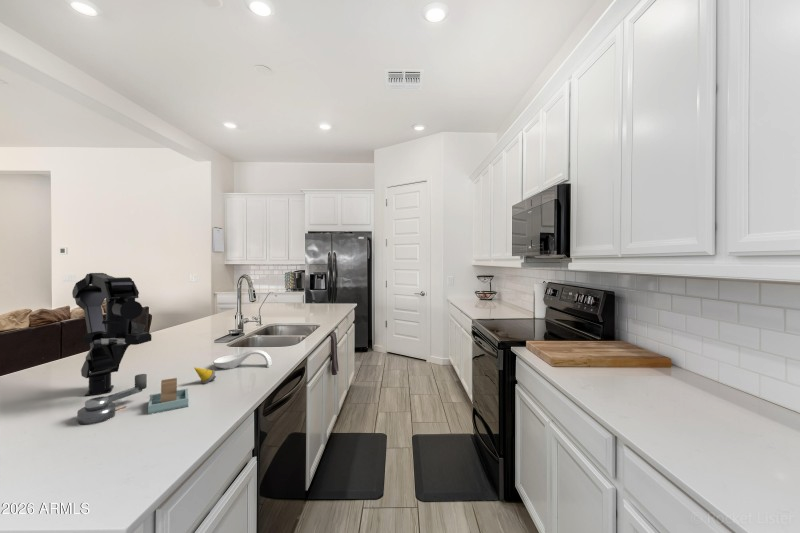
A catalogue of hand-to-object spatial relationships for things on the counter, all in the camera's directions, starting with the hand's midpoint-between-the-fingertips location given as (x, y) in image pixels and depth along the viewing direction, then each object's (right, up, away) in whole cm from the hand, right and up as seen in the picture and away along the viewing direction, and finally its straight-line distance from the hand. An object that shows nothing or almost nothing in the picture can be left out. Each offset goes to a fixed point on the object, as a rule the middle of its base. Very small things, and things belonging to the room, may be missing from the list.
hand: (117, 364), depth 105 cm
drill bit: (+19, -13, +17) cm, 28 cm away
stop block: (+18, -12, -2) cm, 22 cm away
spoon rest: (+23, -13, +37) cm, 45 cm away
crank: (+6, -9, -6) cm, 12 cm away
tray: (+18, -12, -2) cm, 22 cm away
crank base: (+5, -12, -11) cm, 17 cm away
